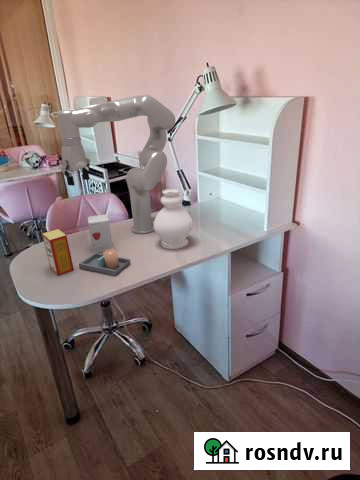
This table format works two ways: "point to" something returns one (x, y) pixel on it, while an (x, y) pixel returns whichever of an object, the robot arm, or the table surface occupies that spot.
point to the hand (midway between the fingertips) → (79, 182)
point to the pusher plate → (101, 262)
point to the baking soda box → (58, 251)
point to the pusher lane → (92, 265)
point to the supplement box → (100, 233)
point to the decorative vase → (172, 221)
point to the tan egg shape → (111, 259)
